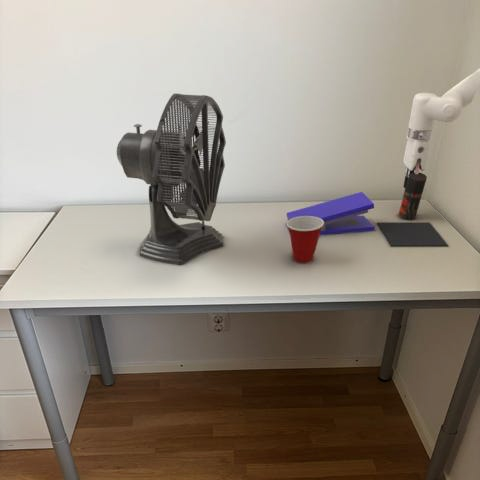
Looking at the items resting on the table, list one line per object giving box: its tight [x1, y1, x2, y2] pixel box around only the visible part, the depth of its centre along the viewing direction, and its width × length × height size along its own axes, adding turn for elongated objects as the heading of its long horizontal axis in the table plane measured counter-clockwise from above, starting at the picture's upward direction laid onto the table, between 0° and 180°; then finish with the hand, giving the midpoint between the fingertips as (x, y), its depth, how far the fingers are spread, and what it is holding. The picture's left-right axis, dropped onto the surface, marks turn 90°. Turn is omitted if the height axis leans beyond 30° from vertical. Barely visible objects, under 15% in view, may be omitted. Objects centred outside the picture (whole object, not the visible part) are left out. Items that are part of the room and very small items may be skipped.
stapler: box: [286, 191, 376, 236], centre depth 171 cm, size 12×28×10 cm, turn 101°
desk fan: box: [116, 93, 227, 266], centre depth 145 cm, size 34×33×45 cm
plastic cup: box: [286, 216, 324, 264], centre depth 151 cm, size 11×11×12 cm
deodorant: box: [398, 172, 428, 221], centre depth 176 cm, size 6×6×15 cm
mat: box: [376, 221, 449, 248], centre depth 169 cm, size 18×18×1 cm
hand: (408, 187), depth 180 cm, fingers closed
